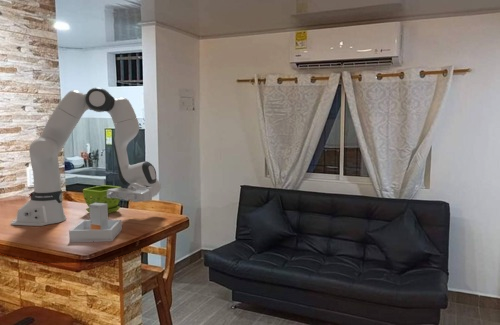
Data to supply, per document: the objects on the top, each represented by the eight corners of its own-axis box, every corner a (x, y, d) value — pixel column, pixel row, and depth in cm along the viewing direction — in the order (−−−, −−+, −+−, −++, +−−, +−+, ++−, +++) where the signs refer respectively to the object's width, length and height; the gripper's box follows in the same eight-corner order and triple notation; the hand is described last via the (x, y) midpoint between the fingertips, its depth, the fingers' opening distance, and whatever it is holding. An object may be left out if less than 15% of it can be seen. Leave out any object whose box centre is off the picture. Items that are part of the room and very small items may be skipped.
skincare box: (89, 233, 163) (88, 204, 161) (97, 230, 167) (96, 202, 165) (101, 234, 161) (100, 205, 159) (108, 231, 165) (107, 203, 163)
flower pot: (105, 208, 212) (104, 184, 211) (123, 211, 205) (122, 187, 204) (82, 213, 200) (81, 188, 199) (101, 217, 193) (100, 191, 192)
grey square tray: (69, 241, 154) (69, 230, 154) (83, 230, 170) (83, 220, 170) (111, 241, 156) (111, 229, 155) (121, 229, 172) (121, 219, 171)
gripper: (118, 183, 190) (97, 188, 177) (154, 187, 183) (136, 192, 170) (118, 196, 191) (98, 202, 178) (154, 200, 184) (136, 206, 171)
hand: (116, 197), depth 174 cm, fingers open, 8 cm apart
